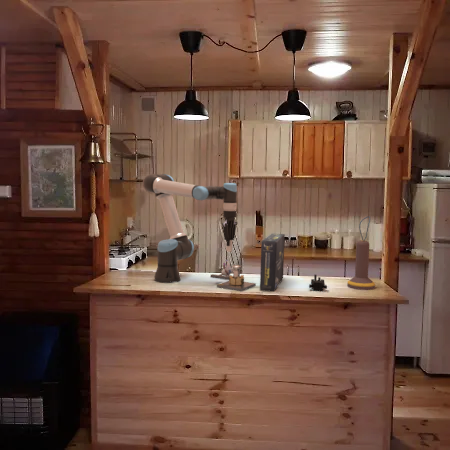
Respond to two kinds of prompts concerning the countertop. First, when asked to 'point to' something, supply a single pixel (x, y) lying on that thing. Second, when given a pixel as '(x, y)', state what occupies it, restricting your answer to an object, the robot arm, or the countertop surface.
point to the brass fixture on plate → (236, 287)
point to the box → (272, 262)
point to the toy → (317, 284)
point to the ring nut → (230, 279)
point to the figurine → (227, 270)
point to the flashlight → (362, 266)
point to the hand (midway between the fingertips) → (229, 251)
